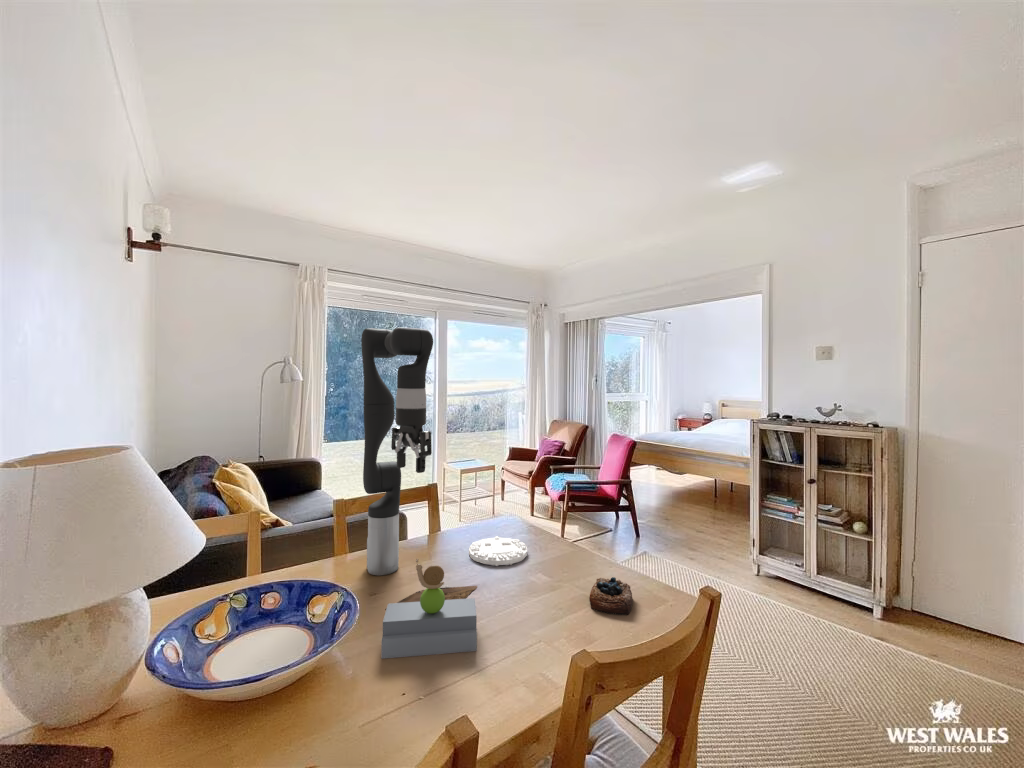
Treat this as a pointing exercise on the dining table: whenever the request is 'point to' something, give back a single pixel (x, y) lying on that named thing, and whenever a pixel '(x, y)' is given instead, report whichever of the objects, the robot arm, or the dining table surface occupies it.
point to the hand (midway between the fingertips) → (410, 469)
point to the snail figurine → (431, 588)
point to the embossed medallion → (498, 551)
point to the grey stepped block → (429, 629)
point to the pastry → (611, 596)
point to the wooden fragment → (448, 592)
